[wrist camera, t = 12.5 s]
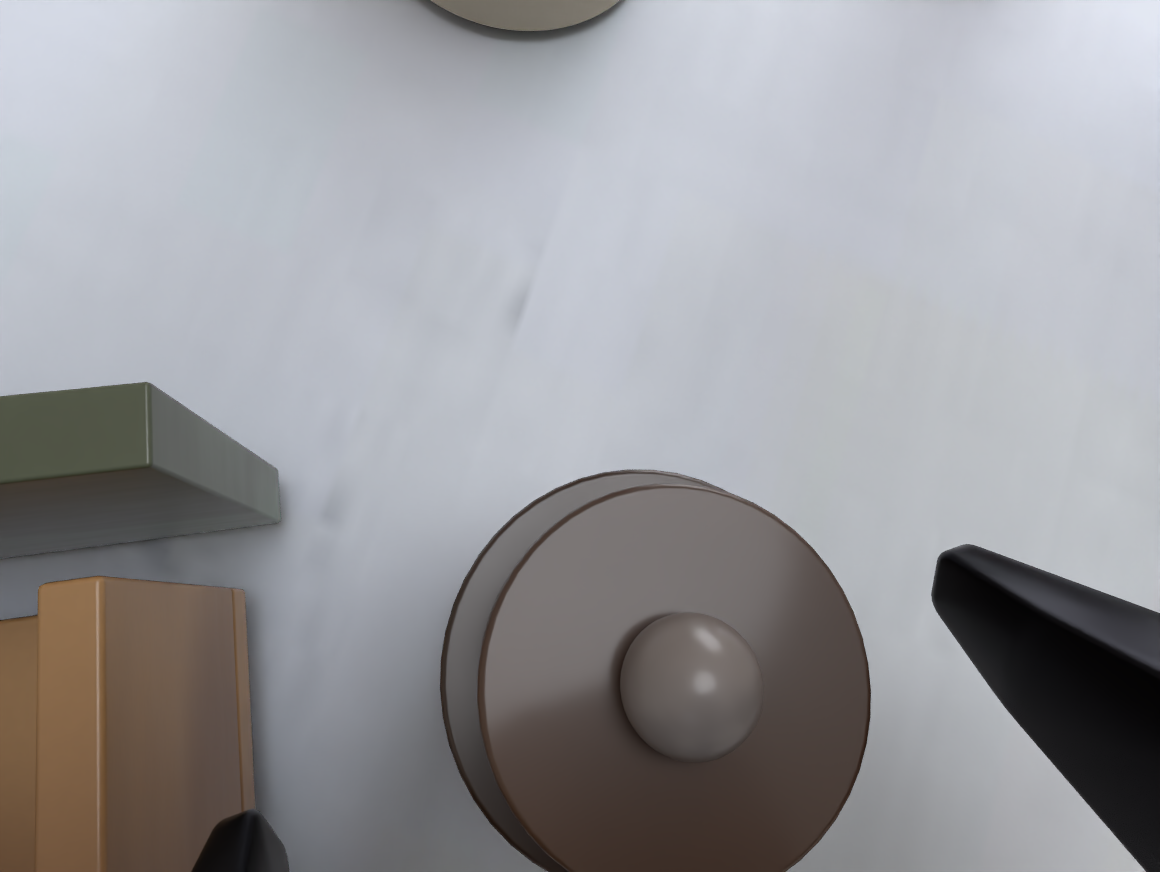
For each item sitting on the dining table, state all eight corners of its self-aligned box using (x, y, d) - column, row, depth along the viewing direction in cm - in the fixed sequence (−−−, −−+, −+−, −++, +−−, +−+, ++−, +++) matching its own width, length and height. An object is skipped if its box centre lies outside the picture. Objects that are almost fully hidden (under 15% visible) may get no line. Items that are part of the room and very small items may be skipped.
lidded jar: (639, 757, 16) (966, 1068, 5) (445, 722, 16) (351, 974, 5) (669, 561, 17) (990, 474, 6) (488, 525, 17) (489, 365, 6)
